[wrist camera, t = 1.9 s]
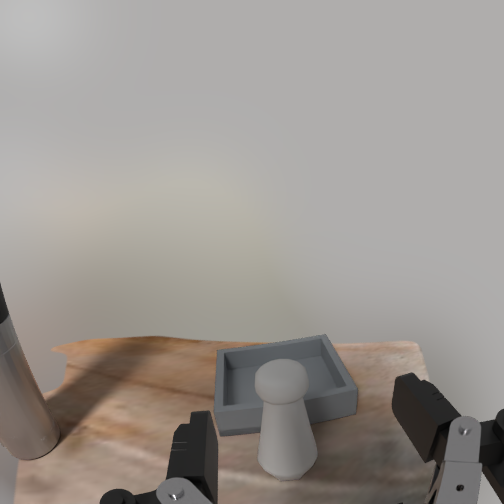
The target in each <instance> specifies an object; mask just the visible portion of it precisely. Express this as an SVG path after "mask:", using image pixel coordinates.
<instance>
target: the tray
mask: <svg viewBox="0 0 504 504" xmlns="http://www.w3.org/2000/svg"><path fill="white" fill-rule="evenodd" d="M277 359H291V360H294V361H297V362H299V363H300V364H301V365H303V366H304V367H305V368H306V372H307V376H308V380H309V387H308V390H307V392H306V393H305V395H304V397H303V400H304V404H305V407H306V411H307V415H308V419H309V422H310V424H314V423H319V422H324V421H328V420H333V419H337V418H342V417H346V416H350V415H354V414H356V407H357V395H358V388H357V387H356V385H355V383H354V381H353V380H352V378H351V376H350V374H349V373H348V371H347V369H346V368H345V366H344V364H343V362H342V361H341V359H340V357H339V356H338V354H337V352H336V351H335V349H334V347H333V345H332V344H331V342H330V340H329V339H328V337H327V335H326V334H324V335H318V336H313V337H307V338H301V339H295V340H288V341H282V342H275V343H268V344H261V345H254V346H246V347H238V348H230V349H222V350H217V363H216V380H215V399H214V415H215V419H216V423H217V426H218V430H219V434H220V436H232V435H241V434H250V433H258V432H261V423H262V414H263V404H264V401H263V400H262V399H261V398H260V397H259V396H258V394H257V393H256V390H255V373H256V372H257V371H258V369H259V368H260V367H261V366H262V365H264V364H265V363H267V362H269V361H272V360H277Z"/></svg>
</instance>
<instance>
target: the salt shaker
mask: <svg viewBox="0 0 504 504" xmlns="http://www.w3.org/2000/svg"><path fill="white" fill-rule="evenodd" d="M308 387H309V380H308V376H307V372H306V368H305V367H304V366H303V365H301V364H300V363H299V362H297V361H294V360H291V359H277V360H272V361H269V362H267V363H265V364H264V365H262V366H261V367H260V368H259V369H258V371H257V372H256V373H255V390H256V393H257V394H258V396H259V397H260V398H261V399H262V400H263V401H264V404H263V414H262V423H261V433H260V440H259V447H258V459H257V460H258V462H259V463H260V465H261V466H262V467H263V469H264V470H265V471H266V472H268V473H269V474H271V475H273V476H275V477H276V478H277V479H278V480H280V481H289V480H299V479H300V478H301V477H302V476H303V475H304V474H305V473H306V472H307V471H308V470H309V469H310V468H311V467H312V466H313V465H314V462H315V460H316V458H317V455H318V452H317V446H316V442H315V439H314V436H313V433H312V429H311V426H310V422H309V419H308V415H307V411H306V407H305V404H304V400H303V397H304V395H305V393H306V392H307V390H308Z"/></svg>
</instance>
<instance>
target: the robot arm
mask: <svg viewBox="0 0 504 504" xmlns="http://www.w3.org/2000/svg"><path fill="white" fill-rule="evenodd" d="M392 410H393V413H394V415H395V417H396V419H397V420H398V422H399V423H400V425H401V426H402V428H403V429H404V431H405V432H406V434H407V436H408V437H409V439H410V440H411V442H412V443H413V445H414V447H415V448H416V450H417V451H418V453H419V454H420V456H421V458H422V459H423V461H424V462H425V463H427V462H429V461H431V460H435V462H436V464H435V467H434V471H433V475H432V479H431V482H430V486H429V490H428V493H427V496H426V500H425V502H424V504H477V501H478V494H479V488H480V481H481V472H483V474H484V475H485V477H486V478H487V480H488V481H489V483H490V485H491V486H492V488H493V489H494V491H495V492H496V494H497V496H498V497H499V499H500V500H501V502H502V504H504V409H502V410H500V411H499V412H498V414H497V416H496V419H495V420H490V421H485V422H478V421H477V420H476V419H475V418H472V417H469V416H461V415H460V414H459V413H458V412H457V410H456V409H455V408H454V407H453V406H452V405H451V404H450V402H449V401H448V400H447V399H446V398H444V396H443V395H442V393H440V392H439V390H438V389H437V388H436V387H435V386H434V385H433V384H431V383H430V382H428V381H426V380H422V381H420V380H419V379H418V377H417V376H416V375H415V374H414V373H408V374H405V375H402V376H398V377H396V379H395V385H394V392H393V398H392ZM59 437H60V428H59V426H58V424H57V422H56V421H55V419H54V417H53V415H52V413H51V411H50V409H49V407H48V405H47V403H46V401H45V399H44V397H43V395H42V393H41V391H40V389H39V387H38V385H37V383H36V381H35V378H34V376H33V374H32V372H31V370H30V367H29V365H28V362H27V360H26V358H25V356H24V353H23V350H22V348H21V345H20V343H19V340H18V337H17V335H16V332H15V329H14V327H13V323H12V320H11V317H10V315H9V311H8V309H7V305H6V302H5V299H4V295H3V292H2V288H1V284H0V443H1V445H2V446H3V447H6V448H7V450H8V451H9V453H10V454H11V455H12V456H14V457H16V458H18V459H23V460H30V459H35V458H38V457H41V456H43V455H45V454H46V453H48V452H49V451H50V450H51V449H52V448H53V447H54V446H55V445H56V444H57V442H58V440H59ZM100 504H218V440H217V435H216V431H215V428H214V424H213V421H212V417H211V413H210V411H197V412H191V417H190V424H180V426H179V427H178V428H177V430H176V431H175V432H174V436H173V444H172V448H171V453H170V459H169V465H168V471H167V477H166V480H165V481H163V482H162V483H161V484H160V485H159V486H158V488H157V489H156V490H154V491H152V492H148V493H143V494H138V495H133V494H132V493H131V492H129V491H127V490H124V489H113V490H110V491H108V492H107V493H105V494H104V495H103V496H102V498H101V500H100ZM399 504H403V503H399Z"/></svg>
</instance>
